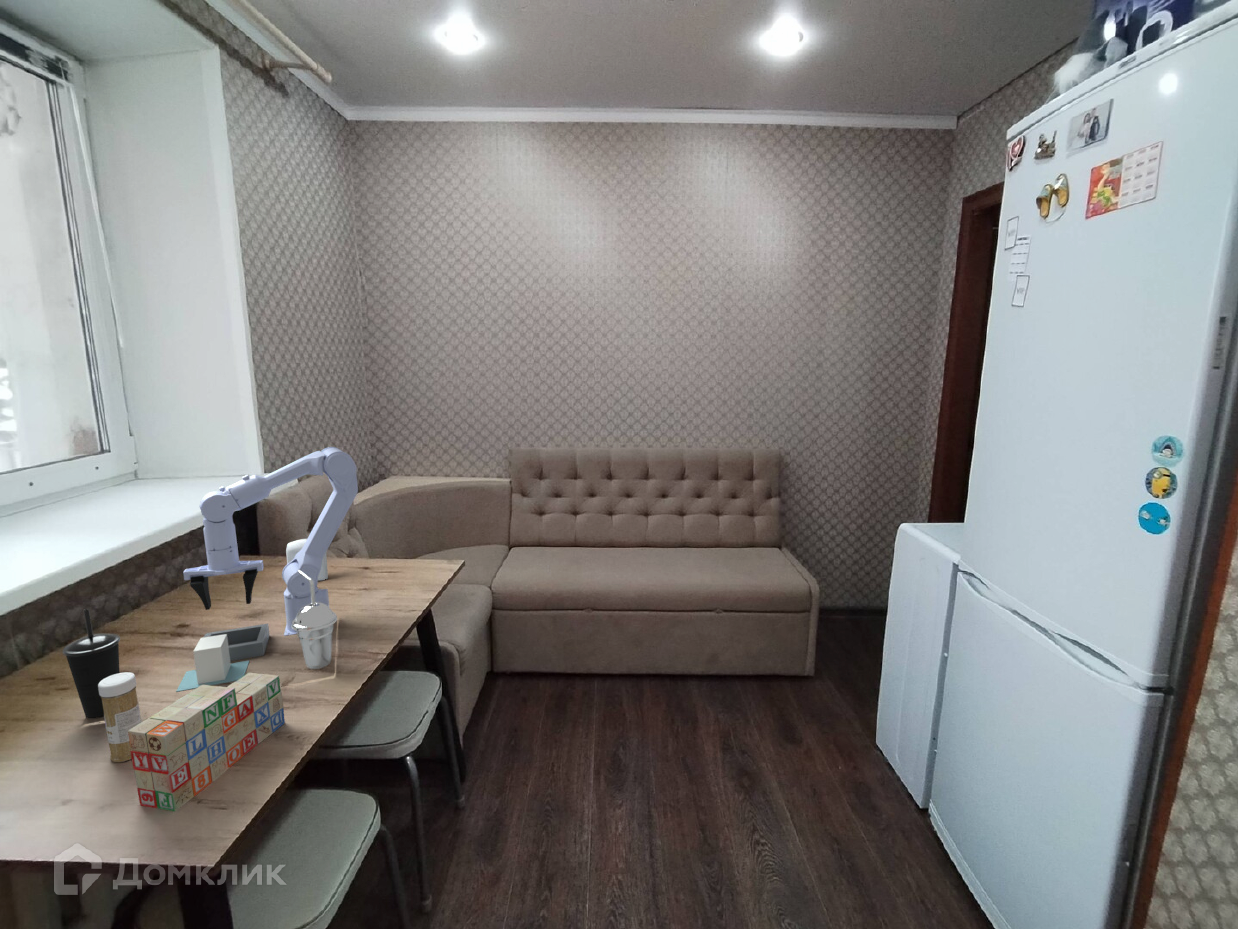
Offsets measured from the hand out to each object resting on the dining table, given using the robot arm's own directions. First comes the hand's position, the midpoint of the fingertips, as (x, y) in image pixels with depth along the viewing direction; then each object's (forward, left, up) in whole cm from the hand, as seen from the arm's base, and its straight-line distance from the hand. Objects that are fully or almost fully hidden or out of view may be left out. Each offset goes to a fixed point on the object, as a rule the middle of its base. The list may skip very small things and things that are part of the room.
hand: (228, 605), depth 132 cm
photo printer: (-13, -37, -10) cm, 40 cm away
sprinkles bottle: (+9, +37, -10) cm, 39 cm away
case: (-1, +4, -9) cm, 10 cm away
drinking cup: (+17, +21, -10) cm, 29 cm away
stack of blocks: (-5, +45, -10) cm, 46 cm away
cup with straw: (-18, +18, -10) cm, 27 cm away
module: (+1, +15, -9) cm, 17 cm away
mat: (+1, +15, -9) cm, 18 cm away
